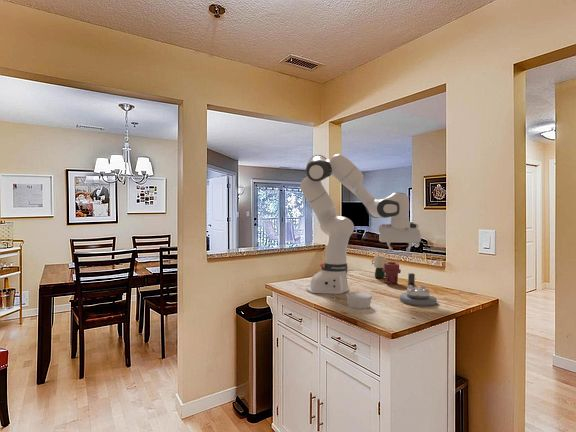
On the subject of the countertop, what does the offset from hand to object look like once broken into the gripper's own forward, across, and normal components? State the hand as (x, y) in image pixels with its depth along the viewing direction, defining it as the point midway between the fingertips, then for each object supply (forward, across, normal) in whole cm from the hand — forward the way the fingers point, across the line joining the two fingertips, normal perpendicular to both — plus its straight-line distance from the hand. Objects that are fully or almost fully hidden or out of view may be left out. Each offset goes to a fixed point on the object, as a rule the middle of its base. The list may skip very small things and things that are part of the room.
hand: (399, 251), depth 173 cm
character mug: (+22, -6, +36) cm, 42 cm away
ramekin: (+22, -22, -28) cm, 41 cm away
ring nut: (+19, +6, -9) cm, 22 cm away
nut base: (+21, +6, -15) cm, 27 cm away
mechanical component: (+22, -1, +21) cm, 30 cm away
